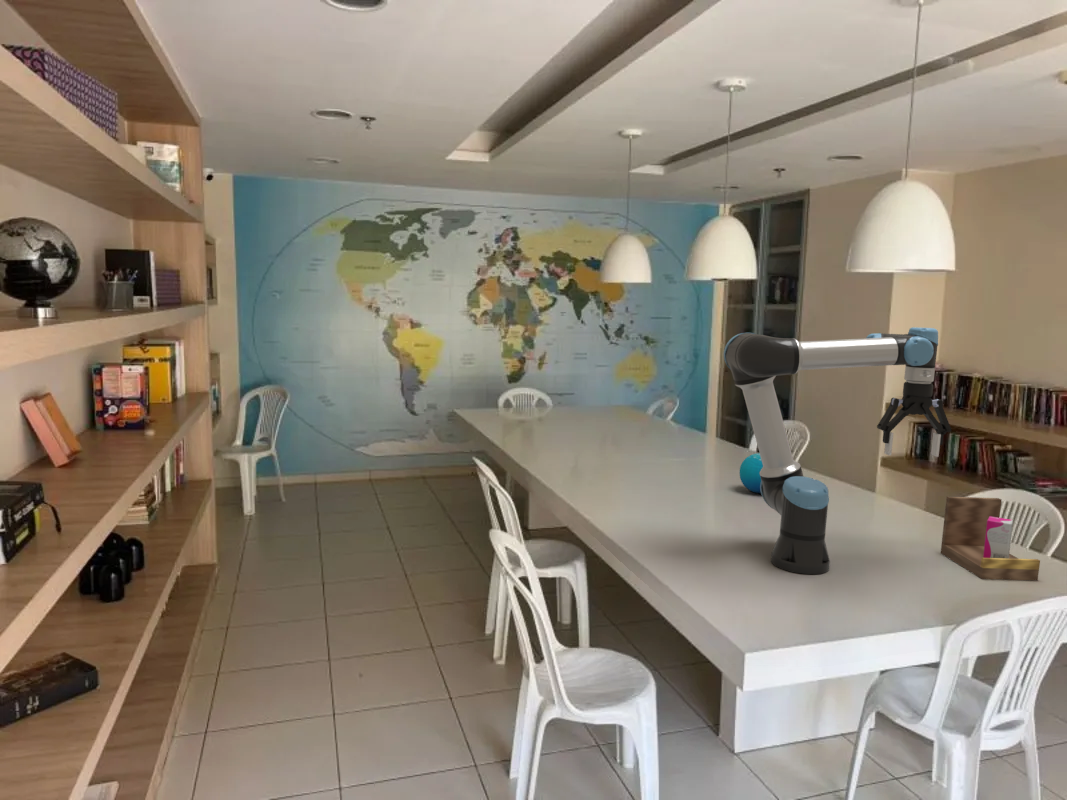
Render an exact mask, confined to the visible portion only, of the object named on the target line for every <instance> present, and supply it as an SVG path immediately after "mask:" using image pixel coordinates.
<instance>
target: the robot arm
mask: <svg viewBox="0 0 1067 800" xmlns="http://www.w3.org/2000/svg"><path fill="white" fill-rule="evenodd" d="M938 346H939V331H938V329H936V328H934V327H919V326H918V327H915V326H913V327H910V328H909V330H908V332H907V333H905V334H902V333H899V334H898V333H883V332H882V333H881V332H878V333H870V334H868V335H867V336H866V337H864V338H850V339H849V338H847V339H829V340H828V339H827V340H826V339H825V340H804V341H802V340H801V341H799V340H797V339H796V338H794V337H791V338H790V337H788V338H787V337H786V338H785V337H784V338H783V337H773V336H769V335H765V334H757V333H756V332H755V333H754V332H750V331H749V332H741V333H737V334H736V335H734V336H732V337H731V338H730V339H729V340H728V341H727V343H726V344H725V347H724V349H723V359H724V362H725V364H726V366H727V367H728V369H730V371H731V375H732V378H733V381H734V386H736V387H737V388H740V389H741V390H742V394H743V397H744V400H745V401H744V402H745V405H746V408H747V411H748V412H747V413H748V415H749V419H750V423H751V426H752V430H753V435H754V438H755V440H756V441H755V442H756V444H757V448H758V451H759V452H758V453H760V456H761V460H762V464H763V468H762V469H761V471H760V477H761V484H760V491H761V493H760V494H761V496H762V499H763V501H764V502H765V503H766V504H767V506H768V507H770V508H771V509H773V510H774V511H775V512H777V514H779V515H780V528H779V535H778V538H777V539H776V542H775V544H774V547H773V548H772V551H771V557H770V562H771V564H773V565H774V567H778V568H779V569H780V570H784V571H787V572H792V573H795V574H803V575H819V574H820V575H821V574H824V573H827V572H829V570H830V566H831V565H830V563H831V561H830V558H829V552H828V549H827V545H826V540H825V539H826V531H827V519H828V510H829V509H828V508H829V502H830V497H829V489H828V486H827V484H825V483H824V482H823V481H821V480H818V479H814V478H812V477H809V476H804V472H803V470H802V469H803V468H802V466H801V463H799V462H798V461H797V460H795V459H794V457H793V453H792V450H791V447H790V446H791V445H790V442H789V438H788V434H787V430H786V427H785V424H784V419H783V415H782V412H781V407H780V404H779V401H778V396H777V393H776V390H775V386H774V385H775V384H774V380H775V378H776V376H786V375H796V374H797V373H799V371H807V370H825V369H829V370H830V369H842V368H843V369H845V368H861V367H863V368H864V367H882V366H883V367H884V366H885V367H886V366H905V369H904V376H903V378H904V380H905V381H904V382H903V386H902V387H903V389H902V398H896V397H892V398H891V399H890V403H889V406H888V407H887V409H886V411H885V412H884V414H883V415H882V417H881V419H880V420H879V422H878V423H877V425H876V428H877V429H878V430H881V431H882V432H883V434H882V443H884V455H887V456H892V450H893V441H894V432H892V431H893V430H894V429H895V428H896V427H897V426H898V425H899V424H900V423H901V421H903V419H905V418H906V417H907V416H909V415H911V416H912V415H918V416H924V417H925V418H926V420H927V421H928V422H929V423H930V426H931V427H932V428H933V429H934V431H935V432H933V433H932V441H931V452H930V455H931V456H933V457H935V458H936V457H937V458H939V456H940V455H939V454H940V449H941V447H940V446H942V445H943V444H944V435H946V434H947V433H951V432H952V428H951V425H950V423H949V419H948V417H947V414H946V412H945V410H944V404H943V403H944V401H943V399H938V398H935V399H932V396H933V392H934V385H933V382H934V380H935V370H936V363H937V361H936V360H937V354H938V353H937V352H938ZM900 406H902V407H901V408H900V409H899V410H898V412H897V413H896V411H897V409H898V408H899V407H900ZM931 407H933V408H934V411H935V413H936V416H937V418H936V417H935V416H934V414H933V412H932V411H931V410H930V408H931ZM894 414H895V415H894ZM937 419H938V420H937Z"/></svg>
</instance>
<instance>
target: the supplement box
mask: <svg viewBox="0 0 1067 800" xmlns="http://www.w3.org/2000/svg"><path fill="white" fill-rule="evenodd" d="M1013 523H1014V522H1013V519H1010V518H1009V519H1008V518H1002V517H999V518H998V517H991V516H989V518H988V520H987V526H986V535H985V545H984V554H983V558H1009V554H1011V553H1010V550H1011V544H1012V534H1013V533H1012V532H1013Z"/></svg>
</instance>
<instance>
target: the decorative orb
mask: <svg viewBox="0 0 1067 800" xmlns="http://www.w3.org/2000/svg"><path fill="white" fill-rule="evenodd" d="M762 468H763V464H762V460H761V456H760V453H759V452H758V453H757V452H756V453H752V454H751V455H750V454H749V456H747V457H746V458H745V459H743V461H742V463H741V464H740V466H739V479H740V482H741V484H742V485H743V486H744V487H745V488H746V489H747V490H748V491H750V492H753V493H756V494H761V491H760V484H761V477H760V471H761V469H762Z"/></svg>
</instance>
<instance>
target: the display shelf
mask: <svg viewBox="0 0 1067 800" xmlns="http://www.w3.org/2000/svg"><path fill="white" fill-rule="evenodd" d="M1002 501H1003V500H1002V499H1001V498H999V497H976V496H975V497H969V496H946V501H945V510H944V517H943V519H944V520H943V529H942V535H941V536H942V537H941V545H940V546H941V547H940V555H943V556H944V555H945V556H944V557H946V558H947V559H949V558H950V559H949V560H950V561H952V560H953V562H954V563H956V564H957V563H958V564H957V565H958V566H960V565H961V566H960V567H962V568H963V567H964V569H965V568H966V569H965V570H967V571H968V570H969V571H968V572H970V573H971V572H972V574H973V575H975V576H976V577H978V578H979V579H981V580H1006V581H1008V580H1010V581H1012V580H1013V581H1014V580H1015V581H1038V580H1039V572H1040V565H1041V560H1040V559H1038V558H1037V559H1036V558H1018V557H1016V556H1014V555H1013V554H1011V553H1009V558H983V554H984V545H985V535H986V526H987V520H988V518H989V516H991V517H998V518H1001V517H1000V516H1001V509H1002V507H1001V506H1002Z"/></svg>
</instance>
